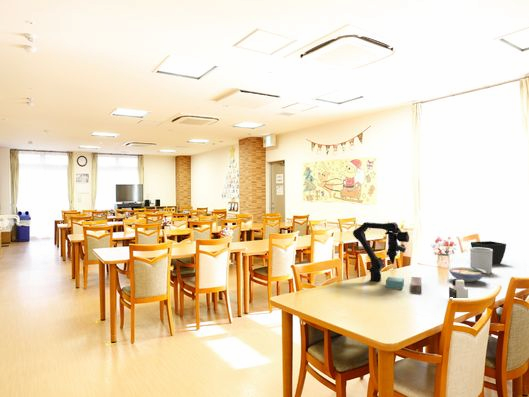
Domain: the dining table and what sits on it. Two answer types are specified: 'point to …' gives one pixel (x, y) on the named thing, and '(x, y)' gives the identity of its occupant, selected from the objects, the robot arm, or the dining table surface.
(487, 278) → the dining table surface
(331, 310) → the dining table surface
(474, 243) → the flower pot
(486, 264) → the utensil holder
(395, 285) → the teal block
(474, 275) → the ramen bowl
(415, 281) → the brown bar
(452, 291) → the medicine bottle
